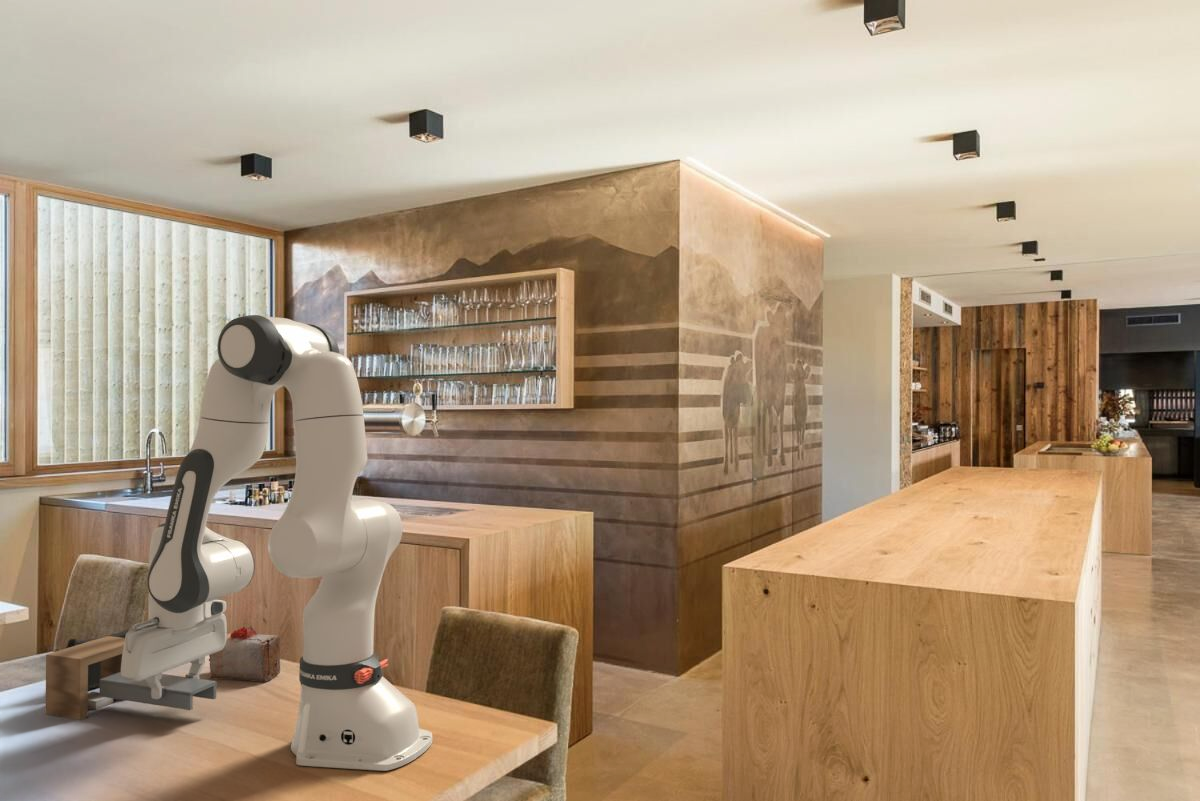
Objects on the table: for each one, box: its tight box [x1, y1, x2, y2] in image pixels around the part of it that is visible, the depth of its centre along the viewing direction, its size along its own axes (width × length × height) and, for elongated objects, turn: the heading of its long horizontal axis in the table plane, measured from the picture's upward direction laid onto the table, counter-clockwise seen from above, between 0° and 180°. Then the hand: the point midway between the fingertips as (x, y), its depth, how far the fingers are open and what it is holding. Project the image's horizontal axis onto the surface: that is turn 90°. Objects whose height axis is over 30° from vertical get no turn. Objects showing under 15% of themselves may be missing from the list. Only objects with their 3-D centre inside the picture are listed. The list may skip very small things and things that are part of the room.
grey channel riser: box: [98, 672, 217, 711], centre depth 147 cm, size 20×6×3 cm, turn 72°
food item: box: [208, 624, 281, 682], centre depth 168 cm, size 14×8×10 cm, turn 80°
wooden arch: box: [44, 635, 125, 720], centre depth 152 cm, size 8×12×10 cm, turn 162°
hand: (175, 690), depth 146 cm, fingers closed on grey channel riser, 6 cm apart
